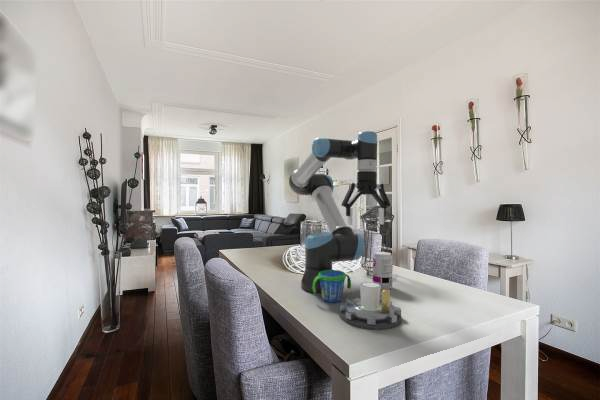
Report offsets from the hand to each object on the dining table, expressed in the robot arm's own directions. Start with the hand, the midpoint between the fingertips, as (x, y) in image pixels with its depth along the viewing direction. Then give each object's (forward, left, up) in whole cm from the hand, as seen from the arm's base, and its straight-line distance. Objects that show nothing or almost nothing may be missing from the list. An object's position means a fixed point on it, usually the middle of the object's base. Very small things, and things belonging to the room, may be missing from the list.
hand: (365, 224), depth 120 cm
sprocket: (+8, -20, -27) cm, 34 cm away
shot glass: (+8, -20, -25) cm, 33 cm away
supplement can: (+4, +13, -29) cm, 32 cm away
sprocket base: (+8, -20, -28) cm, 35 cm away
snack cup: (-9, -12, -29) cm, 32 cm away
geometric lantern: (-4, +33, -29) cm, 44 cm away
